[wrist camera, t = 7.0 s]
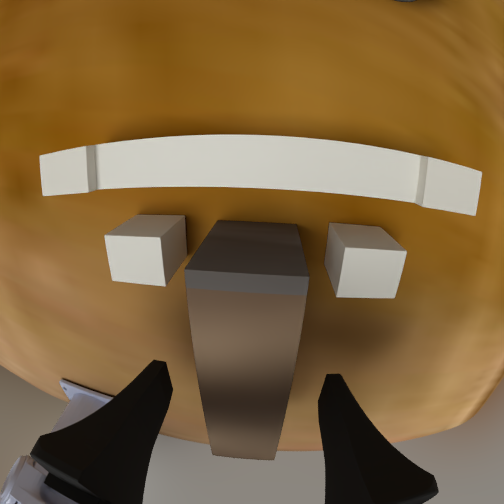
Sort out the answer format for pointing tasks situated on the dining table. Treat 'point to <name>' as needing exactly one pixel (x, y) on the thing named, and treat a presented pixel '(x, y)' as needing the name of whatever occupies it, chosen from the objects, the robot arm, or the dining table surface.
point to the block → (246, 331)
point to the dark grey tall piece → (405, 0)
